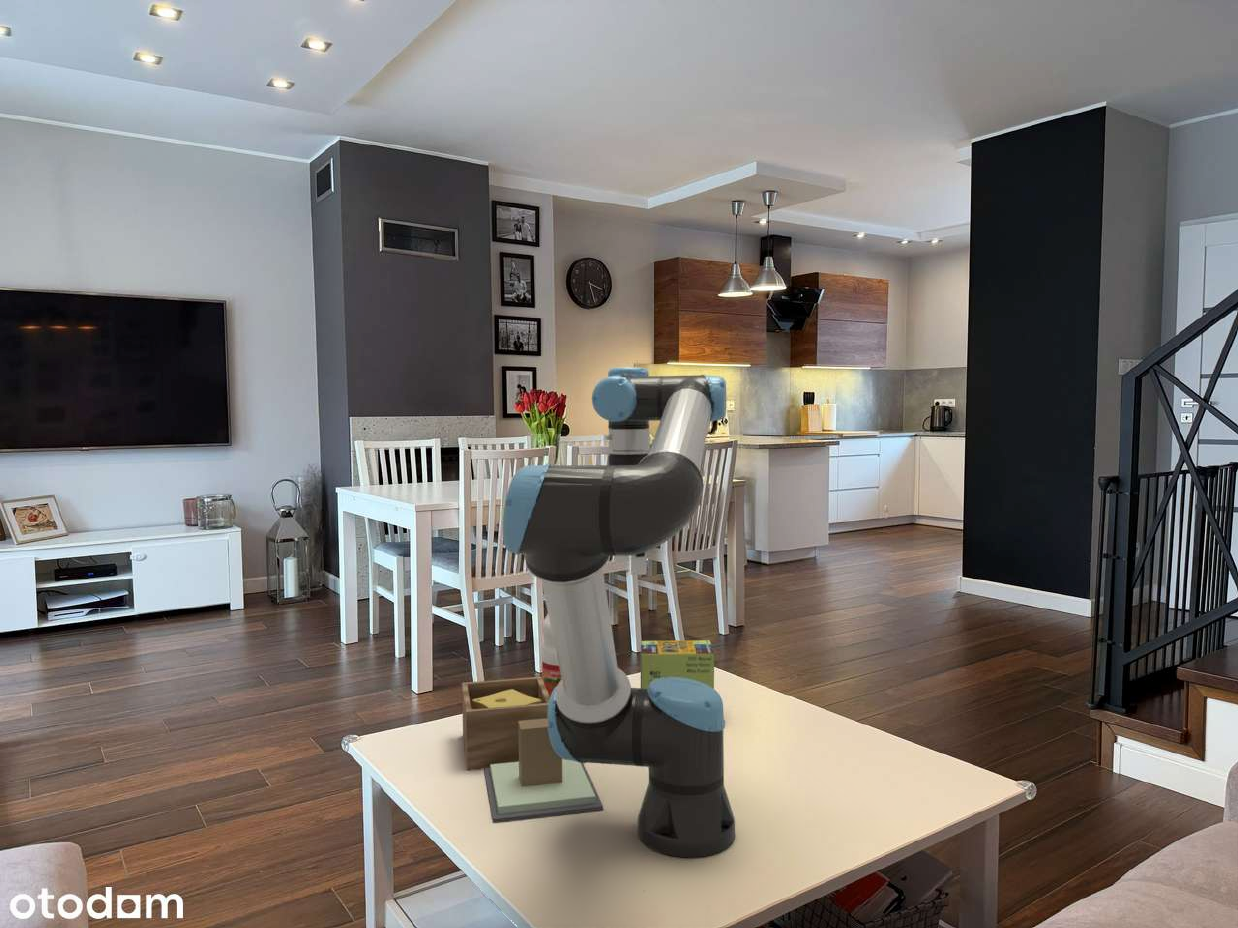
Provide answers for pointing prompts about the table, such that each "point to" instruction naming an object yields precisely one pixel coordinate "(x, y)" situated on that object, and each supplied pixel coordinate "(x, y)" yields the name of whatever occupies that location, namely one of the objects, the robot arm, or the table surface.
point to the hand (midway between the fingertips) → (629, 567)
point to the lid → (539, 775)
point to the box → (498, 720)
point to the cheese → (504, 700)
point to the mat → (541, 812)
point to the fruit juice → (549, 659)
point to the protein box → (677, 661)
